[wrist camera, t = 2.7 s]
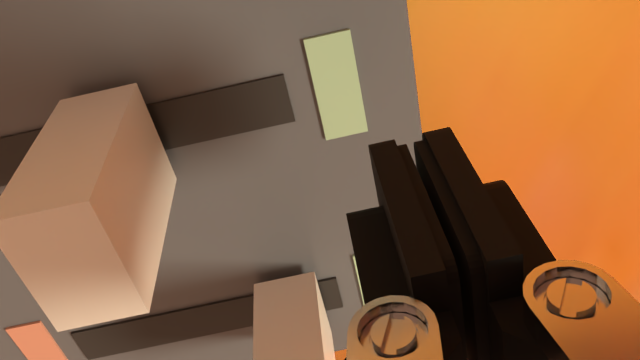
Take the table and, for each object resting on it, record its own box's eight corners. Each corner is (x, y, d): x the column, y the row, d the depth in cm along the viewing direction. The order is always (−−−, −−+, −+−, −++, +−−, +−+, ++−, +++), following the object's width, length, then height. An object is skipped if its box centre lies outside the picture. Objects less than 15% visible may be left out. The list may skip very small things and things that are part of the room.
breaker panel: (-461, -269, 11) (-554, -275, 10) (336, -479, 11) (347, -516, 10) (40, 380, 23) (27, 416, 22) (434, 299, 23) (445, 330, 21)
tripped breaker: (60, 100, 15) (-18, 224, 11) (136, 82, 15) (88, 200, 11) (108, 193, 16) (57, 332, 12) (176, 178, 16) (149, 313, 12)
